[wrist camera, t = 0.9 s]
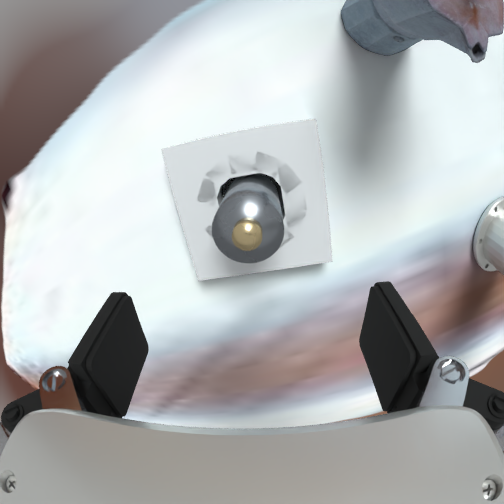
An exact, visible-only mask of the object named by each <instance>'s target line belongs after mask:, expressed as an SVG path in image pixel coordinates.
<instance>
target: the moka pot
mask: <svg viewBox="0 0 504 504" xmlns="http://www.w3.org/2000/svg"><path fill="white" fill-rule="evenodd" d="M341 15H342V20H343V23H344V26H345V29H346V31H347V32H348V33H349V35H350V36H351V37H352V38H353V39H354V40H355V41H356V42H357V43H358V44H359V45H360V46H361V47H363V48H364V49H366V50H368V51H371V52H374V53H377V54H382V55H387V56H388V55H392V54H395V53H398V52H400V51H403V50H405V49H407V48H409V47H411V46H412V45H414V44H416V43H417V42H419V41H421V40H423V39H424V40H441V41H444V42H446V43H447V44H449V45H451V46H453V47H455V48H457V49H459V50H461V51H463V52H464V53H466V54H468V55H469V57H470V58H471V60H472V62H475V63H478V62H480V61H482V60H483V59H484V58H485V52H486V51H487V44H488V37H491V36H496V35H500V34H502V33H503V28H504V2H503V0H346V2H345V4H344V6H343V8H342V10H341Z"/></svg>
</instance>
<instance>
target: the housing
mask: <svg viewBox="0 0 504 504" xmlns="http://www.w3.org/2000/svg"><path fill="white" fill-rule="evenodd" d="M161 150H162V154H163V158H164V162H165V166H166V170H167V174H168V178H169V181H170V185H171V189H172V193H173V196H174V200H175V204H176V207H177V211H178V214H179V218H180V221H181V225H182V228H183V232H184V235H185V238H186V242H187V245H188V248H189V252H190V255H191V258H192V261H193V265H194V268H195V271H196V274H197V277H198V280H199V281H201V280H209V279H216V278H224V277H231V276H238V275H245V274H252V273H259V272H266V271H273V270H280V269H287V268H294V267H300V266H307V265H313V264H320V263H326V262H332V250H331V236H330V224H329V214H328V204H327V194H326V185H325V177H324V169H323V161H322V154H321V147H320V140H319V134H318V128H317V121H316V119H308V120H300V121H292V122H285V123H278V124H272V125H266V126H260V127H254V128H248V129H243V130H238V131H233V132H228V133H223V134H219V135H214V136H210V137H205V138H201V139H197V140H193V141H189V142H185V143H181V144H177V145H173V146H170V147H167V148H164V149H161ZM256 173H263V174H266V175H268V176H271V177H273V178H274V179H275V180H276V182H277V183H278V184H279V185H280V188H281V194H282V200H283V206H284V207H283V210H282V217H283V223H284V237H283V241H282V243H281V245H280V247H279V249H278V250H277V251H276V252H275V253H274V254H273V255H272V256H271V257H269V258H268V259H266V260H264V261H261V262H257V263H240V262H236V261H234V260H232V259H230V258H228V257H227V256H225V255H224V254H223V253H222V252H221V251H220V250H219V249H218V247H217V246H216V244H215V242H214V239H213V236H212V222H213V219H214V216H215V214H216V212H217V210H218V208H219V206H220V204H221V202H222V200H223V197H222V193H221V189H222V186H223V184H224V183H225V182H226V181H227V180H228V179H230V178H234V177H239V176H245V175H250V174H256Z"/></svg>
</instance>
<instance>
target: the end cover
mask: <svg viewBox="0 0 504 504" xmlns="http://www.w3.org/2000/svg"><path fill="white" fill-rule="evenodd" d="M212 236H213V239H214V242H215V244H216V246H217V247H218V249H219V250H220V251H221V252H222V253H223V254H224V255H225V256H227V257H228V258H230V259H232V260H234V261H236V262H240V263H257V262H261V261H264V260H266V259H268V258H269V257H271V256H272V255H273V254H274V253H275V252H276V251H277V250H278V249H279V247H280V245H281V243H282V241H283V237H284V223H283V217H282V212H281V206H280V200H279V195H278V191H277V188H276V186H275V185H274V183H273V182H272V181H271V180H270V179H269V178H267V177H266V176H264V175H261V174H258V173H256V174H250V175H245V176H239V177H237V178H236V179H235V180H234V181H233V182H232V183H231V184H230V186H229V188H228V190H227V192H226V194H225V196H224V198H223V200H222V202H221V204H220V206H219V208H218V210H217V212H216V214H215V216H214V219H213V222H212Z"/></svg>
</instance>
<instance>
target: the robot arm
mask: <svg viewBox="0 0 504 504" xmlns="http://www.w3.org/2000/svg"><path fill="white" fill-rule="evenodd" d="M473 250H474V256H475V260H476V262H477V263H478V265H479V266H480V267H481V268H482V269H484V270H486V271H496V270H498V271H499V272H501V273H502V274H503V275H504V197H500V198H498V199H496V200H495V201H493V202H492V203H491V204H490V205H489V206H488V207H487V209H486V210H485V211H484V213H483V215H482V217H481V218H480V220H479V223H478V225H477V228H476V232H475V236H474V244H473ZM359 342H360V347H361V350H362V353H363V355H364V358H365V361H366V363H367V366H368V369H369V372H370V374H371V377H372V380H373V383H374V386H375V389H376V392H377V395H378V397H379V400H380V403H381V406H382V409H383V411H387V413H388V414H383V415H378V416H373V417H367V418H361V419H355V420H349V421H342V422H335V423H328V424H319V425H310V426H298V427H284V428H263V429H220V428H199V427H185V426H174V425H164V424H156V423H148V422H141V421H135V420H129V419H122V416H125V415H126V413H127V411H128V408H129V405H130V402H131V399H132V396H133V393H134V390H135V387H136V384H137V382H138V379H139V376H140V373H141V370H142V368H143V365H144V362H145V360H146V357H147V354H148V343H147V341H146V338H145V335H144V333H143V330H142V327H141V324H140V322H139V319H138V316H137V313H136V310H135V307H134V304H133V301H132V298H131V297H130V296H128V295H127V293H125V292H113V293H111V295H110V296H109V297H108V299H107V300H106V302H105V303H104V305H103V306H102V308H101V309H100V311H99V312H98V314H97V316H96V317H95V319H94V320H93V322H92V323H91V325H90V326H89V328H88V330H87V331H86V333H85V334H84V336H83V338H82V339H81V341H80V343H79V344H78V346H77V348H76V349H75V351H74V353H73V354H72V356H71V358H70V359H69V361H68V363H69V367H68V368H65V367H63V366H55V367H51V368H49V369H48V370H46V371H45V372H44V373H43V374H42V376H41V377H40V380H39V389H38V390H36V391H34V392H32V393H30V394H28V395H26V396H23V397H21V398H19V399H17V400H15V401H13V402H11V403H10V404H8V405H7V406H6V407H5V408H4V410H3V412H2V416H1V419H2V420H1V422H0V504H504V393H503V392H502V391H499V390H497V389H494V388H491V387H489V386H487V385H484V384H482V383H479V382H477V381H474V380H472V379H470V378H469V370H468V367H467V366H466V364H465V363H464V362H463V361H461V360H460V359H458V358H456V357H453V356H443V357H441V358H439V357H438V355H437V353H436V352H435V350H434V348H433V346H432V345H431V343H430V341H429V340H428V338H427V336H426V335H425V333H424V332H423V330H422V328H421V327H420V325H419V324H418V322H417V320H416V319H415V317H414V316H413V314H412V313H411V312H410V310H409V309H408V307H407V306H406V304H405V303H404V301H403V300H402V298H401V297H400V295H399V294H398V292H397V291H396V289H395V288H394V286H393V285H392V283H391V282H377V283H375V285H374V287H371V288H370V292H369V297H368V302H367V307H366V312H365V317H364V321H363V326H362V330H361V334H360V339H359Z"/></svg>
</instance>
